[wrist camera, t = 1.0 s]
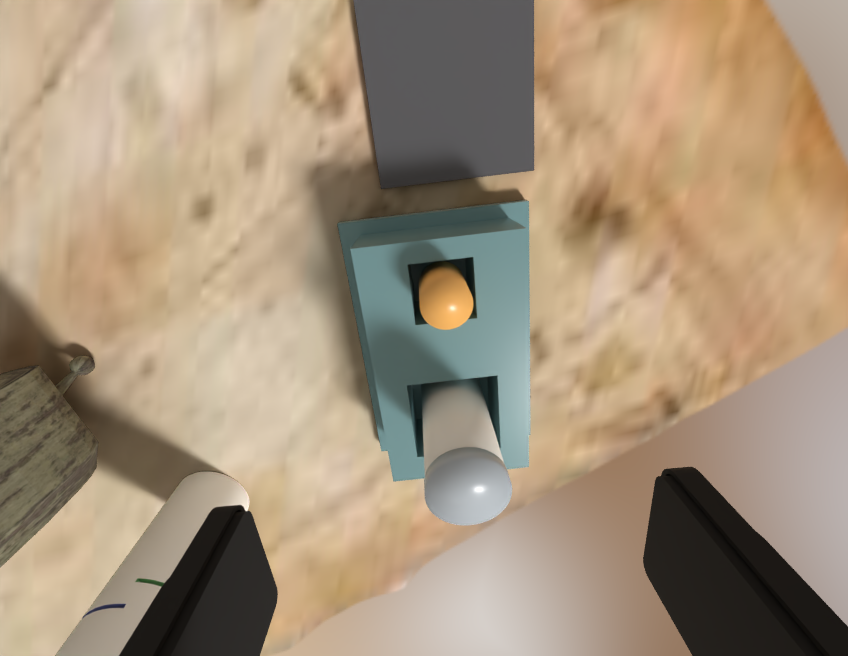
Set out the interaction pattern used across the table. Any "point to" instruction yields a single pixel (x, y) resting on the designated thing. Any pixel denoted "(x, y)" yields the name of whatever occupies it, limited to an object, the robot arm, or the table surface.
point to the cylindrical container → (150, 564)
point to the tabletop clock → (39, 451)
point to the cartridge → (461, 454)
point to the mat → (448, 87)
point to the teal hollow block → (435, 348)
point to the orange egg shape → (444, 296)
